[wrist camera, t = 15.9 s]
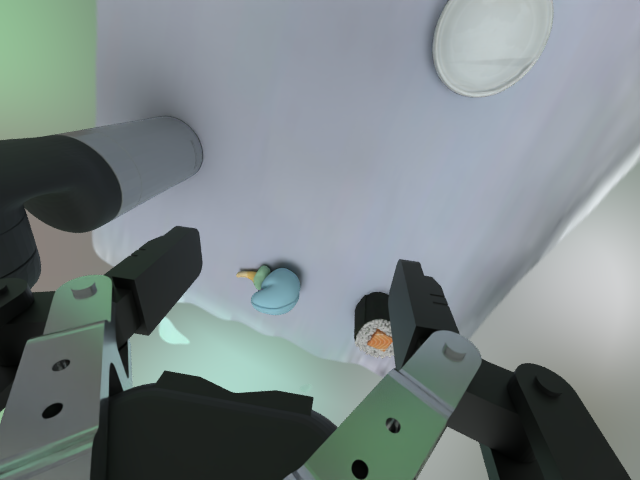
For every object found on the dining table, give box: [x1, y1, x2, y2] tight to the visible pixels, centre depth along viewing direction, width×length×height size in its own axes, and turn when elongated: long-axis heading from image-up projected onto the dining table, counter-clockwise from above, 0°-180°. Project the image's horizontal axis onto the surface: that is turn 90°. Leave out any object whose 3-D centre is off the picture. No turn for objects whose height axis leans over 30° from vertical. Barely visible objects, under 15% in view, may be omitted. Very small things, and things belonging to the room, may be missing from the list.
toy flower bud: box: [237, 266, 300, 315], centre depth 50 cm, size 7×9×12 cm
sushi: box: [354, 292, 394, 359], centre depth 51 cm, size 8×8×8 cm
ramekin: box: [432, 0, 553, 97], centre depth 32 cm, size 11×11×5 cm
